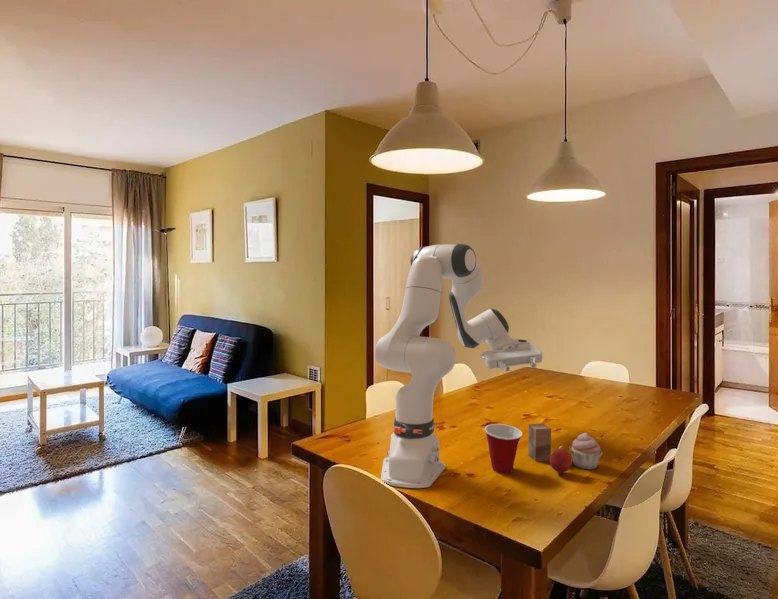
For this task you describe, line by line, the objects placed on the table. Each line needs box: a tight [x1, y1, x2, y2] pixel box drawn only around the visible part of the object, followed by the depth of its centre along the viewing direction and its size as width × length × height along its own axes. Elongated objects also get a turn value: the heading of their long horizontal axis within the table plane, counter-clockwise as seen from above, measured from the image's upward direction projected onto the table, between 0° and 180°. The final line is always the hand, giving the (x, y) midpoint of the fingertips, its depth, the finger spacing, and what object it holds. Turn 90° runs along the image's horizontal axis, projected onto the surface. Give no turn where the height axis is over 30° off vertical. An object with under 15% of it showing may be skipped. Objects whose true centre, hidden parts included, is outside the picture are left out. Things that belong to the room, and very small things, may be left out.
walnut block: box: [527, 423, 552, 462], centre depth 146 cm, size 5×5×10 cm
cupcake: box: [568, 432, 603, 470], centre depth 140 cm, size 9×9×10 cm
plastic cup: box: [484, 423, 523, 474], centre depth 137 cm, size 11×11×12 cm
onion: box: [549, 445, 573, 475], centre depth 134 cm, size 6×6×8 cm
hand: (520, 367), depth 159 cm, fingers open, 8 cm apart
